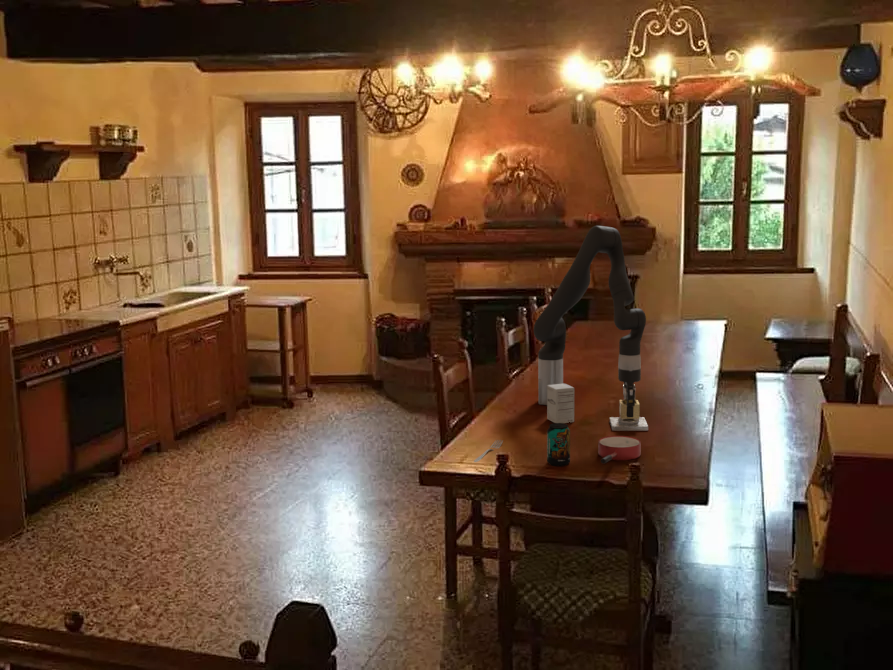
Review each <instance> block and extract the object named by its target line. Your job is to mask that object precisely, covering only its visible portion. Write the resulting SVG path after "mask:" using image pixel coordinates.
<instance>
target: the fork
mask: <svg viewBox="0 0 893 670" xmlns="http://www.w3.org/2000/svg"><path fill="white" fill-rule="evenodd" d="M503 442H504V440H502V439H495V441H494V442H493V443H492V445H491V446H490V448H494V449H500V448H501V447H502V444H503ZM490 448H488V449H487V450H485V451H484V452H483V453H482V454H481V455H479V456H478V457H476V458H475V459H474V460H473V462H474V463H477V462H480V460H482V459H483V458H484V456H485V455H486V454H487V453H488V452H489V451H493V449H490Z"/></svg>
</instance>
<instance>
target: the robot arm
mask: <svg viewBox="0 0 893 670" xmlns="http://www.w3.org/2000/svg"><path fill="white" fill-rule="evenodd" d="M623 247H624V246H623V242H622V237H621V234H620V231H619V230H618V229H617V228H615V227H611V226H604V225H594V226H592V227H591V228H590V229H589V230H588V232H587V233H586V235H585V236H584V240H583V242H582V244H581V246H580V248H579V251H578V253H577V254H576V256H575V259H574V260H573V262H572V264H571V266H570V267H569V269H568V271H567V272H566V274H565V276H564V277H563V279H562V280H561V282H560V284H559V286H558V288H557V289H556V291H555V293H554V294H553V296H552V298H551V299H550V302H548V304H547V306H546V307H545V308H544V310H543V311H542V312H541V314H540V315H539V316H538V318H537V319H536V320H535V322H534V325H533V335H534V337H535V339H536V340H538V341H539V342H544V345H543V346H542V347H541V348H540V349H539V350H538V351H537V352H538V353H537V356H538V357H537V358H538V361H537V362H538V365H537V366H538V369H537V370H538V371H537V372H538V379H537V380H538V389H537V390H538V391H537V392H538V405H544V406H547V385H553V384H562V383H564V352H565V350H566V338H567V337H566V336H567V328H566V327H567V326H566V323H565V320H564V318H563V317H564V315H565V314H566V313H567V312H568V311H571V309H572V308H573V307H574V306H575V305H577V304H578V303H579V302H580V301H581V299H582V298H583V296H584V294H585V293H586V292H587V290H588V288H589V287H590V284H591V265H592V262H593V261H594V258H595V257H596V256H597V254H598V253H602V254H607V256H608V258H609V261H610V272H609V276H608V289H609V291H610V295H611V298H612V301H613V322H614V325H615V327H616V328H617V329H618V330H620V331H629V333H628V334H627V335H624V336H622V337H620V339H619V348H618V351H619V354H618V363H617V364H618V365H617V366H618V370H617V371H618V376H617V377H618V378H617V379H618V381H619V382H622V383H623V385H622V391H623V392H622V393H623V400H626V403H627V404H626V406H627V417H633V409H634V406H635V400H636V391H637V386H636V385H635V383H637V382H640V381H641V380H642V379H641V377H642V373H641V372H642V368H641V365H642V358H641V342H642V337H643V334H644V330H645V327H646V322H647V316H646V312H645V311H644V310H643V309H642V308H636V307H635V308H625V307H626V306H629V305H631V304H632V303H633V302H634V300H635V297H634V292H633V290H632V287H631V284H630V280H629V278H628V275H627V274H628V273H627V269H626V263H625V262H626V260H625V255H624V248H623ZM629 400H632V403H629Z"/></svg>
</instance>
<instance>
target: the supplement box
mask: <svg viewBox="0 0 893 670" xmlns="http://www.w3.org/2000/svg"><path fill="white" fill-rule="evenodd" d="M546 407H547V409H546V413H547V414H546V417H547V418H546V419H547V420H549V422H550V421H551V422H552V423H563V424H567V423H569V422H570V423H574V422H575V387H573V386H571V385H569V384H567V383H564V382H563V383H562V384H553V385H547V405H546Z"/></svg>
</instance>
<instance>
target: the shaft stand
mask: <svg viewBox="0 0 893 670" xmlns="http://www.w3.org/2000/svg"><path fill="white" fill-rule="evenodd" d="M609 424H610V427H611V431H612V432H614V431H617V432H620V431H622V432H623V431H624V432H629V431H633V432H634V431H635V432H636V431H638V432H640V431H642V432H643V431H645V432H646V431H649V424H648V423H647V420H646V419H645V417H644V416H642V417H641V416H639V419H621V417H620V416H619V417H618V416H617V417H616V416H615V417H614V416H611V417H609Z"/></svg>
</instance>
